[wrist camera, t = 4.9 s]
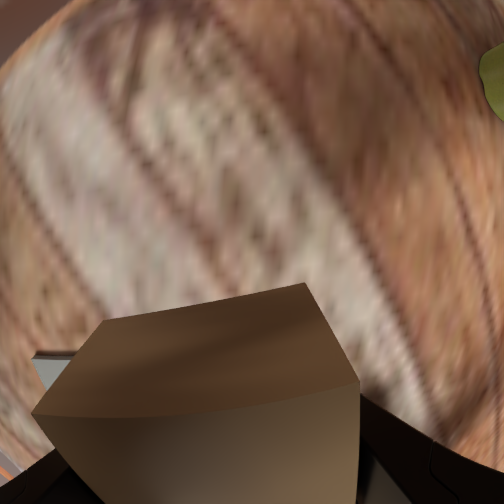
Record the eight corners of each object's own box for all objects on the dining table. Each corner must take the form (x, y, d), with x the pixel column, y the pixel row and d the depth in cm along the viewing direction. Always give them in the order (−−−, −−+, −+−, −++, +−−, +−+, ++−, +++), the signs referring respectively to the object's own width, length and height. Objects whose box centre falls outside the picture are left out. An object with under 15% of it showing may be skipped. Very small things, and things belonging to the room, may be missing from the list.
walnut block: (305, 282, 8) (359, 381, 4) (324, 429, 9) (352, 525, 5) (103, 320, 8) (30, 413, 4) (168, 451, 9) (150, 542, 5)
